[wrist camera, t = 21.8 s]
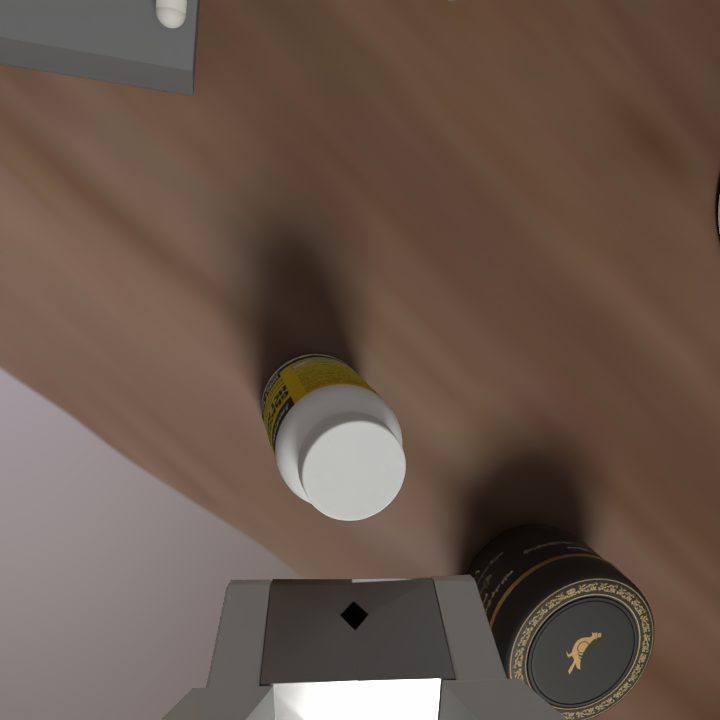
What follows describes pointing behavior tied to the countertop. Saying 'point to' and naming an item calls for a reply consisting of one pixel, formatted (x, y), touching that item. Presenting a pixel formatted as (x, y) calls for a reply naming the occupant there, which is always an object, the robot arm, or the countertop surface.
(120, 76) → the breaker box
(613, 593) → the jar
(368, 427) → the pill bottle
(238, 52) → the countertop surface
